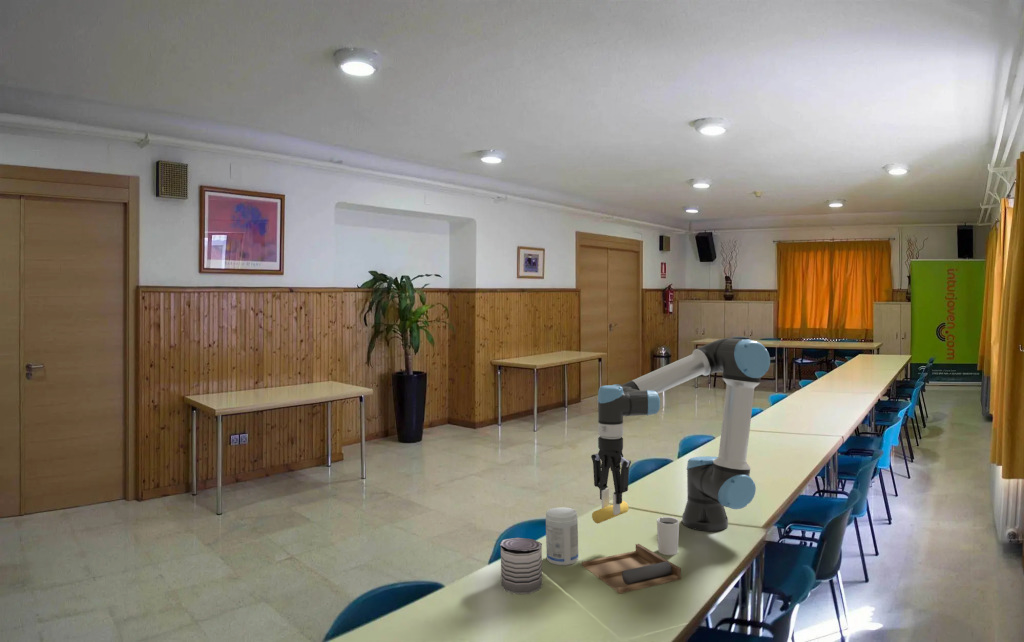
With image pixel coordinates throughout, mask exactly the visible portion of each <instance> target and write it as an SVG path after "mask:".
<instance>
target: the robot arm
mask: <svg viewBox="0 0 1024 642" xmlns="http://www.w3.org/2000/svg"><path fill="white" fill-rule="evenodd" d="M770 365H771V357H770V353H769V351H768V350H767V348H766V347H765V345H764V344H762V343H761V342H759V341H756V340H752V339H741V338H732V337H725V338H721V339H717V340H713V341H712V342H709V343H707V344H705V345H702V346H700V347H697V348H695V349H693V350H692V354H690V355H688V356H685V357H683V358H680V359H678V360H676V361H674V362H671V363H669V364H666V365H665V366H662V367H659V368H658V369H655V370H653V371H651V372H649V373H646V374H644V375H641V376H639V377H636V378H635V379H632V380H629V381H627V382H625V383H623V384H621V383H620V384H619V383H617V384H615V383H614V384H612V385H611V384H610V385H609V384H608V385H605V384H604V385H601V386H600V387H599V388H598V394H597V409H598V410H597V411H598V412H597V415H598V416H597V417H598V419H597V420H598V421H597V424H598V425H597V426H598V427H597V432H598V437H597V441H598V442H597V444H598V445H597V446H598V447H597V448H598V452H597V453H593V454H591V457H590V458H591V460H592V468H593V471H592V472H593V485H594V487H596V488H598V489H599V500H601V509H602V508H605V507H607V506H610V490H609V486H608V480H609V475H610V474H609V473H610V471H611V473H612V480H613V481H612V482H613V487H614V491H613V493H612V505H613V515H617V514H619V513H620V504H621V503H622V501H623V493H626V492H628V490H629V477H630V476H629V475H630V474H629V473H630V472H629V471H630V466H631V464H632V460H630V459H626V458H625V457H624V454H623V449H624V438H623V435H624V417H635V416H651V415H656V414H658V412H659V411H660V408H661V399H660V396H659V395H660V394H661V393H663V392H665V391H668V390H670V389H672V388H674V387H676V386H677V387H678V386H679V385H682V384H683V383H685V382H688V381H691V380H693V379H695V378H697V377H699V376H705V377H707V376H709V375H711V374H715V373H722V378H721V379H722V380H723V381H724V383H725V385H726V387H725V395H724V403H723V404H724V406H723V413H722V422H721V431H720V438H719V439H720V440H719V448H718V456H705V455H704V456H694V457H690V458H688V460H687V465H686V470H687V471H686V473H687V474H686V480H687V482H686V483H687V484H686V485H687V486H686V487H687V498H686V499H687V501H686V503H685V507H684V511H683V513H682V517H681V518H682V519H681V520H682V521H681V522H682V524H683V525H684V526H685V527H687V528H690V529H692V530H696V531H705V532H716V531H717V532H718V531H721V530H725V529H727V528H728V527H729V518H728V516H727V512H726V509H725V508H729V509H731V510H741V509H744V508H745V507H747V506H748V505H749V504H751V502H753V499H754V498H755V496H756V490H757V487H756V483H755V481H754V480H753V478H752V477H751V476H750V474H751V466H750V465H749V463H748V462H747V456H748V447H749V440H750V439H749V438H750V430H751V422H752V421H751V420H752V412H753V402H754V397H755V396H754V393H755V388H756V387H758V386H759V385H760V384H761V379H762V377H763V376H765V375H766V373H768V371H769V369H770Z"/></svg>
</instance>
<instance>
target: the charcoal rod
mask: <svg viewBox="0 0 1024 642" xmlns="http://www.w3.org/2000/svg"><path fill="white" fill-rule="evenodd" d="M667 561H668V560H667ZM667 561H666V562H661V563H657V564H652V565H648V566H643V567H638V568H634V569H629V570H624V571H623V572H622V578H623V581H624V582H625V584H632V583H636V582H641V581H645V580H649V579H654V578H658V577H662V576H667V575H670V574H671V573H672V568H671V565H670V564H669V562H670V561H669V562H667Z"/></svg>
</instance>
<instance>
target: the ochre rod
mask: <svg viewBox="0 0 1024 642" xmlns="http://www.w3.org/2000/svg"><path fill="white" fill-rule="evenodd" d="M628 511H629V504H628V502H626V501H625V500H622V503H621V504H620V513H619V514H617V515H613V504H611V505H610V504H609V506H607V507H605V508H602V507H601V508H600V509H598V510H595V511H593V512H592V513H591V518H592V521H593V523H596V524H600V523H604V522H606V521H608V520H610V519H613V518H615V517H618V516H620V515H623V514H626V513H627V512H628Z"/></svg>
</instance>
